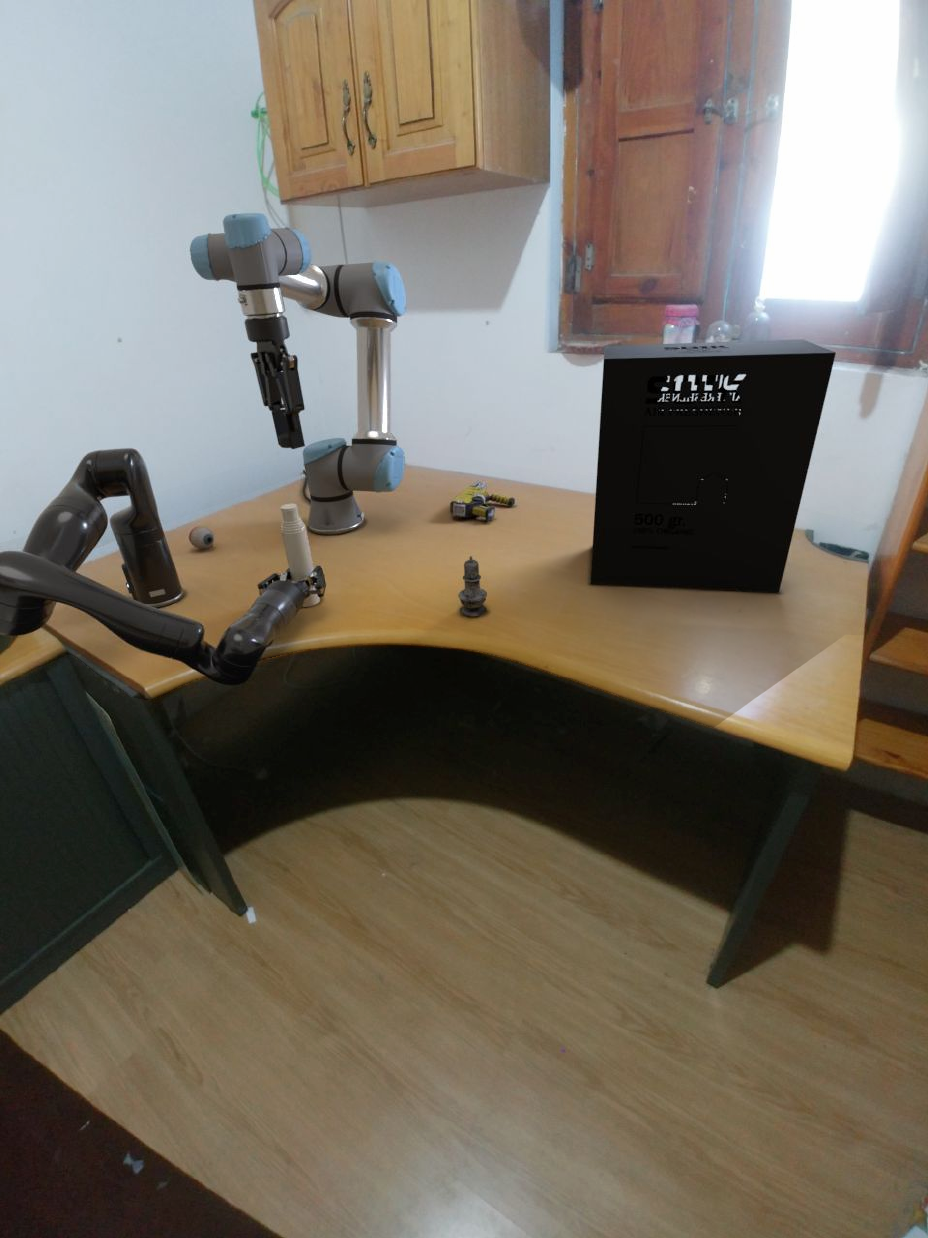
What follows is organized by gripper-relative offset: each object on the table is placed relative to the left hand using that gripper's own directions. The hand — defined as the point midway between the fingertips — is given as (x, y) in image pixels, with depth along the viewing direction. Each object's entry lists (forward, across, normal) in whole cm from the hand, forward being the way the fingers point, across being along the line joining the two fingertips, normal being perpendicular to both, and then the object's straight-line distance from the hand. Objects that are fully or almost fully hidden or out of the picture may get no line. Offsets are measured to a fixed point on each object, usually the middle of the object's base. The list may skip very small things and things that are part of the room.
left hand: (307, 569), depth 129 cm
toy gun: (+56, +33, -6) cm, 65 cm away
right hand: (+5, 0, +25) cm, 26 cm away
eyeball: (+25, -39, -6) cm, 47 cm away
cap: (+5, 0, +27) cm, 27 cm away
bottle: (-3, 0, -6) cm, 7 cm away
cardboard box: (+16, +80, -6) cm, 82 cm away
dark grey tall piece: (-5, +36, -6) cm, 37 cm away
